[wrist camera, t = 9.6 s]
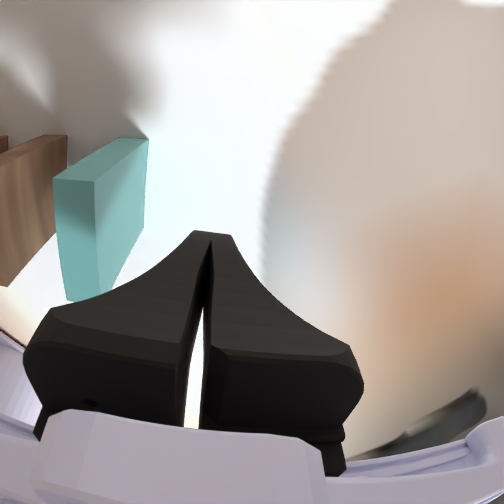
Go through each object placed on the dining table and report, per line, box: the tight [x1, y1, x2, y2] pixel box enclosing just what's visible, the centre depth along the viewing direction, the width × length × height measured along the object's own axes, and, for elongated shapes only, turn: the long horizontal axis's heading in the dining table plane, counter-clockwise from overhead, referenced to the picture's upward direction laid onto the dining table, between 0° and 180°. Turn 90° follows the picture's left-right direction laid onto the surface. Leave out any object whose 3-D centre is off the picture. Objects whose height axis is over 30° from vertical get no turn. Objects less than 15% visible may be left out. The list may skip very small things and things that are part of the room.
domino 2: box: [52, 137, 149, 302], centre depth 13 cm, size 2×5×7 cm, turn 170°
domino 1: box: [0, 135, 67, 287], centre depth 13 cm, size 2×5×7 cm, turn 171°
